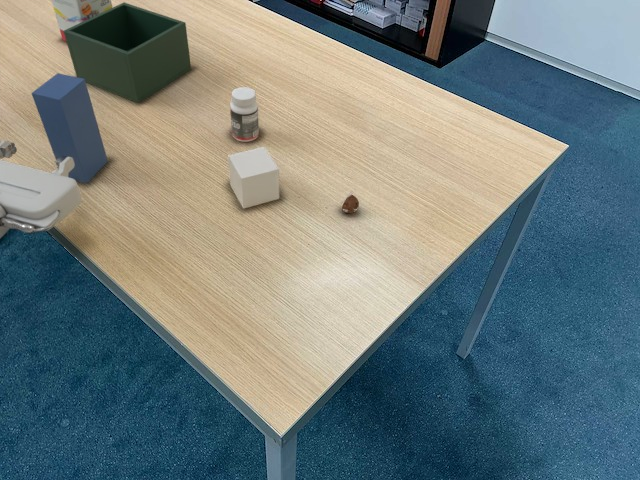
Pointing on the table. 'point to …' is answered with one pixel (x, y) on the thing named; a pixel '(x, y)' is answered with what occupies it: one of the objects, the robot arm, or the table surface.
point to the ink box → (77, 11)
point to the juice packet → (71, 124)
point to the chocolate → (350, 203)
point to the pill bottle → (244, 114)
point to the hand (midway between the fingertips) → (39, 152)
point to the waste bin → (129, 51)
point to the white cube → (254, 177)
